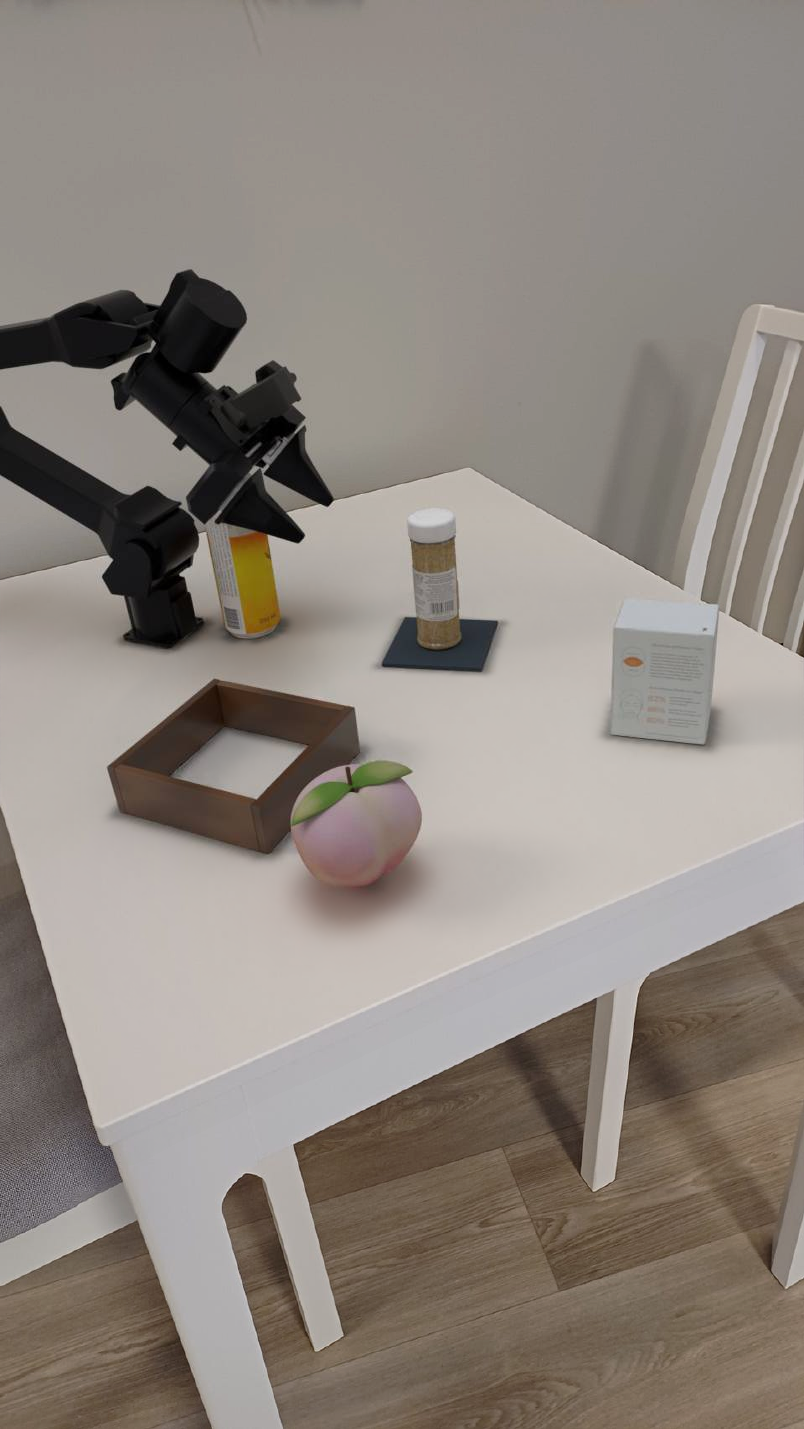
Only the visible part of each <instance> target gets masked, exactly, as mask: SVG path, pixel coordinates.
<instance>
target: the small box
mask: <svg viewBox="0 0 804 1429" xmlns="http://www.w3.org/2000/svg"><path fill="white" fill-rule="evenodd" d="M719 618H720V604H717V603H701V602H700V603H699V602H688V601H687V602H686V601H685V602H684V601H671V600H655V599H639V598H629V597H628V598H627V597H626V598H624V599H623V601H622V603H621V606H620V609H619V612H618V614H617V616H616V620H615V622H614V625H613V628H612V657H611V658H612V662H611V689H610V690H611V692H610V693H611V694H610V728H609V732H610V734H611V735H614V736H622V737H631V738H638V739H639V738H640V739H647V740H648V739H649V740H657V741H667V742H668V741H669V742H676V743H684V744H693V745H705V744H706V742H707V736H708V730H709V724H710V716H711V708H712V701H713V691H714V690H713V689H714V677H715V669H716V668H715V667H716V656H717V644H718V633H719Z"/></svg>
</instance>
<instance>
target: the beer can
mask: <svg viewBox="0 0 804 1429" xmlns="http://www.w3.org/2000/svg"><path fill="white" fill-rule="evenodd" d="M221 512H222V511H220V510H219V511H218V512H217V513H216V514H215V515H214V516H213V517H212V518H211V519H210V520H209V521H208V522H207V523H206V524H205V525H204V528H205V533H206V538H207V544H208V548H209V554H210V560H211V564H212V570H213V574H214V575H213V576H214V580H215V586H216V590H217V595H218V600H219V606H220V611H221V616H222V621H223V626H224V628H225V630H227V631H228V632H230V634H231V635H232V636H234V637H236V638H239V639H245V640H246V639H247V640H249V639H257V638H258V639H259V638H261V637H264V636H267V635H269V634H272V633H273V632H274V631H275V630H276V628H277V626H278V624H280V623H279V622H281V619H282V618H281V612H280V605H279V599H278V592H277V586H276V579H275V574H274V567H273V560H272V555H271V548H270V543H269V542H270V540H269V535H267V534H264V533H261V532H257V531H253V530H250V529H245V528H241V527H237V526H233V525H229V524H224V523H221V524H220V525H217V524H216V523H214V521H215V520H216V519H217V517H218V516H219V515H220V514H221Z"/></svg>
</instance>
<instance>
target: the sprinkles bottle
mask: <svg viewBox="0 0 804 1429" xmlns="http://www.w3.org/2000/svg"><path fill="white" fill-rule="evenodd" d="M406 521H407V535H408V538H409V542H410V550H411V562H412V563H411V564H412V565H411V570H412V580H413V582H412V583H413V593H414V607H415V609H414V610H415V614H416V617H417V627H418V637H417V640H418V643H419V644H420V645H421V646H423V647H425V648H428V649H433V650H442V649H447V648H450V647H453V646H455V645H457V644H458V643H459V642H460V640H461V632H460V623H459V619H460V591H459V580H458V569H457V568H458V567H457V553H456V541H455V540H456V534H457V523H456V515H455V514H454V513H453V512H452V511H450V510H449V509H445V508H439V507H436V508H435V507H433V508H432V507H431V508H424V509H419V510H417V511H414V512H413V513H411V514H410V515H409V516H408V517H407V520H406Z"/></svg>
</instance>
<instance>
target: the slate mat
mask: <svg viewBox="0 0 804 1429" xmlns="http://www.w3.org/2000/svg"><path fill="white" fill-rule="evenodd" d="M498 622H499V620H494V619H493V620H492V619H470V618H469V619H466V618H459V623H460V632H461V640H460V642H459V643H458V644H457V645H455V646H453V647H450V648H447V649H442V650H433V649H428V648H425V647H423V646H421V645H420V644H419V643H418V640H417V637H418V627H417V616H414V617H413V616H404V618H403V619H402V622H401V624H400V625H399V627H398V629H397V631H396V634H395V636H394V638H393V640H392V642H391V643H390V646H389V648H388V650H387V652H386V654H385V656H384V657H383V660H382V662H381V667H384V668H385V667H387V668H402V669H403V668H405V669H406V668H408V669H424V670H425V669H427V670H442V671H443V670H445V671H462V672H463V671H464V672H479V673H480V672H483V669H484V666H485V664H486V660H487V657H488V654H489V651H490V648H491V645H492V642H493V640H494V637H495V633H496V630H497V627H498V624H499V623H498Z"/></svg>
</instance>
